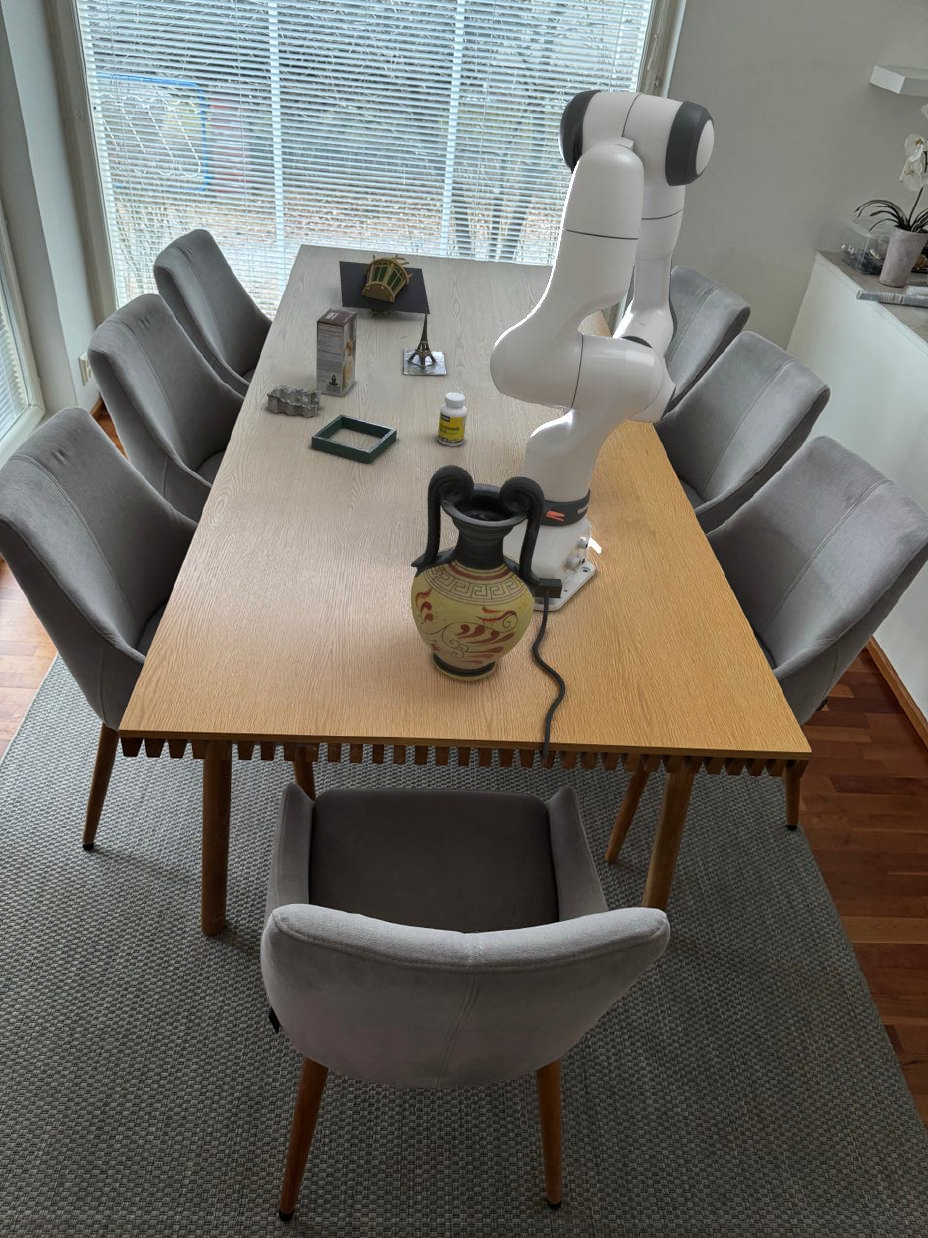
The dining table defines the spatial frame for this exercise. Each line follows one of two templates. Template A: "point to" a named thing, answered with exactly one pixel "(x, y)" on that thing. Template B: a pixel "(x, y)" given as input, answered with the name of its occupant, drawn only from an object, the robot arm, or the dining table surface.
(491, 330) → the dining table surface
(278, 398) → the egg carton
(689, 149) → the robot arm
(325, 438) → the square frame
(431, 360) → the eiffel tower figurine
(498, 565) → the amphora
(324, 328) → the coffee box
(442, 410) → the supplement bottle
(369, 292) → the lantern
